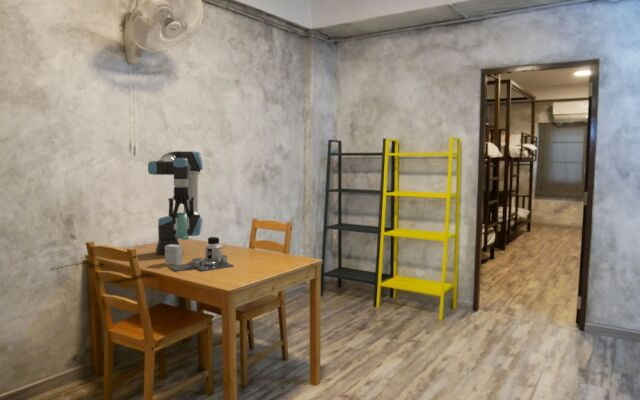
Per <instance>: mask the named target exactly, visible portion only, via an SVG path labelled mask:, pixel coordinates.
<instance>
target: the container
mask: <svg viewBox="0 0 640 400" xmlns="http://www.w3.org/2000/svg"><path fill="white" fill-rule="evenodd" d="M216 255H223V245H222V244H220V238H219V237H218V236H211V237H208V238H207V245H206V246H205V248H204V260H205V261H207V260H214V259H219V258H216ZM219 260H220V259H219Z"/></svg>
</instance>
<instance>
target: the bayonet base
mask: <svg viewBox="0 0 640 400" xmlns="http://www.w3.org/2000/svg"><path fill="white" fill-rule="evenodd" d="M216 258H219V259H214V260H205V258H203V257H198V258H197V257H196V258H192V259H191V260H192V261H191V262H187V263H186V264H189V265H191V266H193V267H195V268H196V269H195V270H198V271H200V272H207V271H213V270H221V269H225V268H226V269H227V268H232V267H234V264H232V263H230V262H228V255H226V254H223V253H222V255H216Z"/></svg>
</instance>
